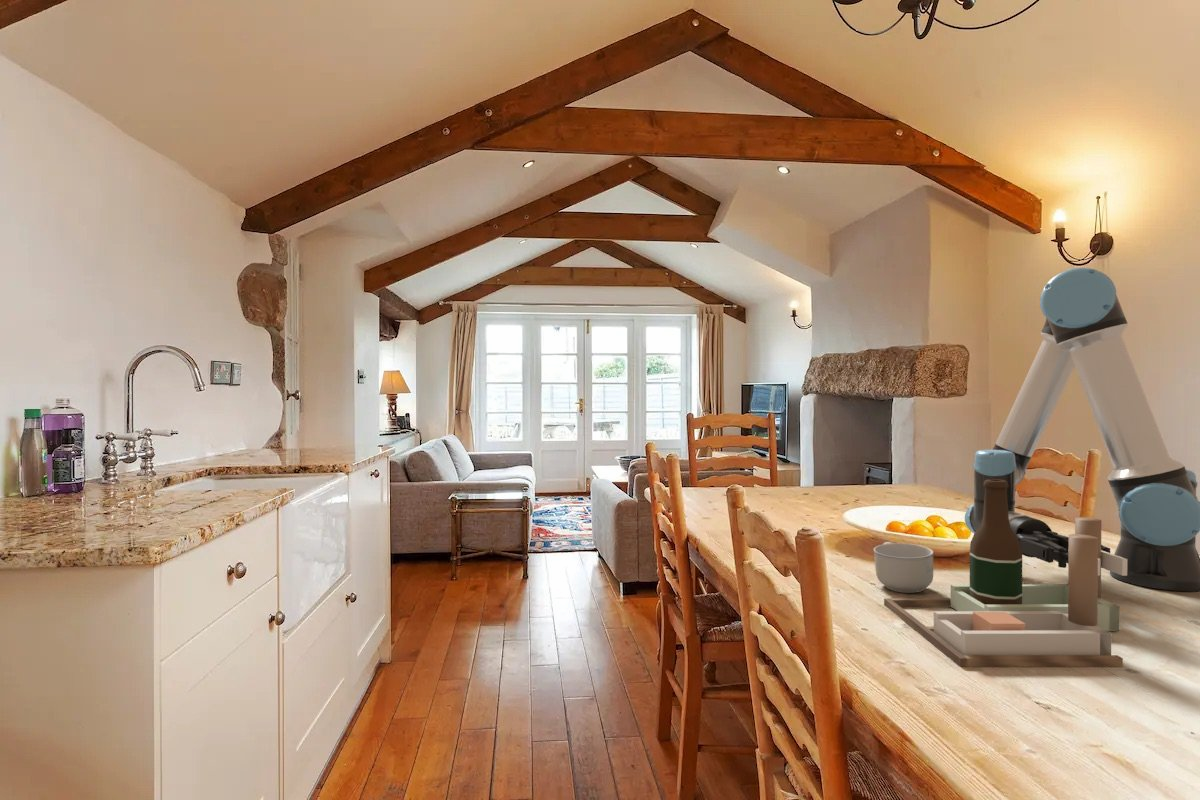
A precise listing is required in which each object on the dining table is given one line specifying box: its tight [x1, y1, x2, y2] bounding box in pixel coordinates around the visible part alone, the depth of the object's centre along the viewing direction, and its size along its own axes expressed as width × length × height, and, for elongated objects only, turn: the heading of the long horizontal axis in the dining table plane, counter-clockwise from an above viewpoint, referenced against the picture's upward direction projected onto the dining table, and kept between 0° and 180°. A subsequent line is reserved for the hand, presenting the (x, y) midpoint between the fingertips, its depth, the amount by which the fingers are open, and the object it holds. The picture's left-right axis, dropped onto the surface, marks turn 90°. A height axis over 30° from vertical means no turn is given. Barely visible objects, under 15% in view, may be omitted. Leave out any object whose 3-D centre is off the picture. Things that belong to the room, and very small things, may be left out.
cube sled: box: [933, 533, 1112, 655], centre depth 100 cm, size 22×9×17 cm, turn 89°
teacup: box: [873, 541, 935, 594], centre depth 131 cm, size 14×11×8 cm
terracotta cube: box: [973, 612, 1025, 631], centre depth 100 cm, size 5×5×5 cm
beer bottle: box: [969, 479, 1023, 605], centre depth 113 cm, size 8×8×24 cm
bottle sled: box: [950, 516, 1120, 632], centre depth 112 cm, size 22×12×17 cm, turn 89°
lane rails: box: [883, 597, 1124, 668], centre depth 107 cm, size 23×26×1 cm
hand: (1111, 567), depth 107 cm, fingers closed on bottle sled, 4 cm apart
